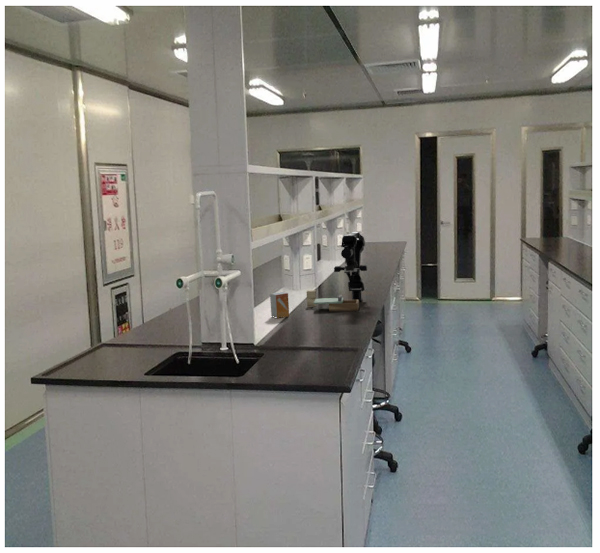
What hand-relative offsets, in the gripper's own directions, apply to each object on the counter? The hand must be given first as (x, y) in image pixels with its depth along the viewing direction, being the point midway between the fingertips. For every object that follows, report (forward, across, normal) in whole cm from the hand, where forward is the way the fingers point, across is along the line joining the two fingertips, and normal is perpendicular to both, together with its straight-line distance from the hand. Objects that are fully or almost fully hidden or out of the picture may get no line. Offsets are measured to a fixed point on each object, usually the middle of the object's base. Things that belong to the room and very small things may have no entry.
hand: (351, 283), depth 343 cm
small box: (+13, -38, -26) cm, 48 cm away
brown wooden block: (+13, -24, +2) cm, 27 cm away
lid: (+9, -13, -10) cm, 18 cm away
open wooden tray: (+13, -4, -10) cm, 17 cm away
